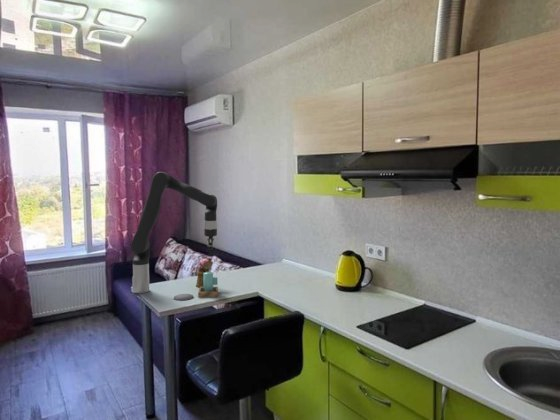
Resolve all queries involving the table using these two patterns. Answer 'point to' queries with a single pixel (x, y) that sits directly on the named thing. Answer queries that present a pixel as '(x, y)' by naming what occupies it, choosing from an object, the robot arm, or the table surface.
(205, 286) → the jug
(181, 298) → the disc
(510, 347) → the table surface
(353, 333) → the table surface
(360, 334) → the table surface
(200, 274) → the brown figurine
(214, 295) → the stand
